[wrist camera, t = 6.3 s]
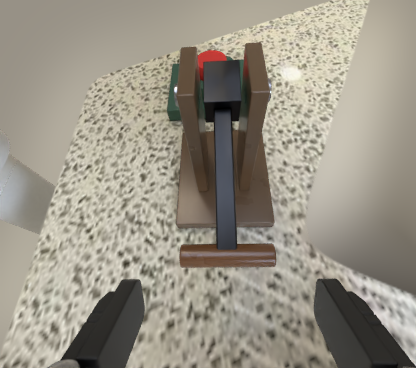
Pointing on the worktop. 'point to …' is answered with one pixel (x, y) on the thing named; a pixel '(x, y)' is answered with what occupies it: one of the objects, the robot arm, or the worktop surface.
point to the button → (209, 59)
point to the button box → (174, 110)
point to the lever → (224, 176)
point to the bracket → (242, 147)
